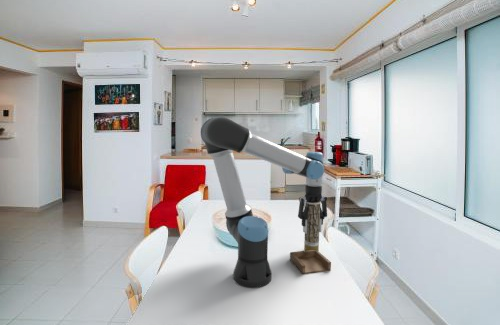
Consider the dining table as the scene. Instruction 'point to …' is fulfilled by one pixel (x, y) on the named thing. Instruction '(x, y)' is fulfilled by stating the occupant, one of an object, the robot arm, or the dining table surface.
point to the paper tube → (312, 226)
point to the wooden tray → (310, 261)
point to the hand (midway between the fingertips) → (312, 231)
